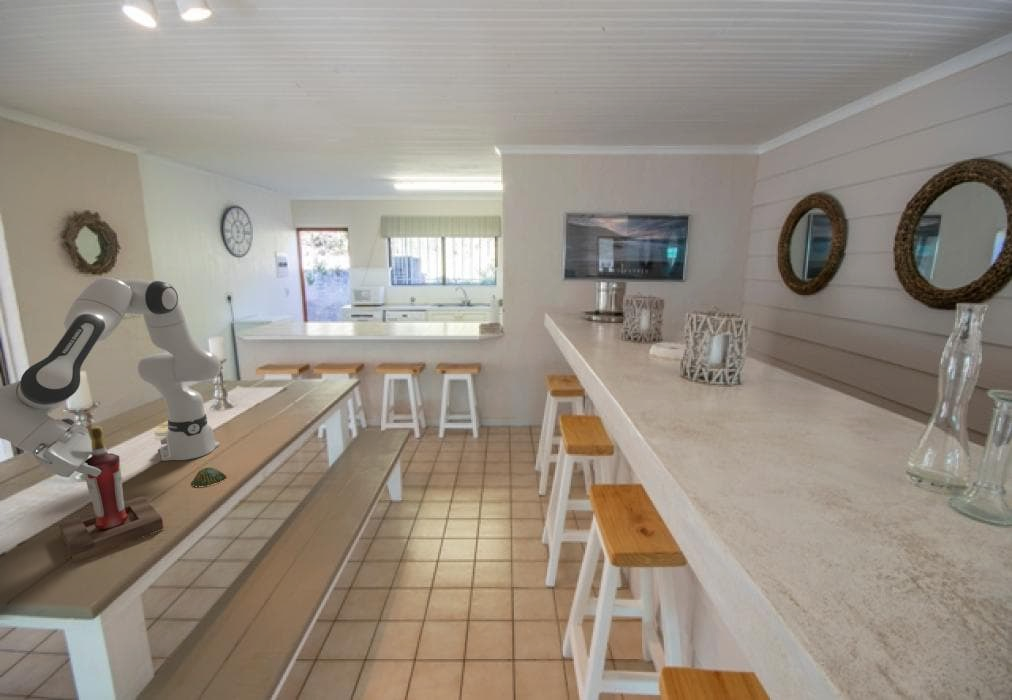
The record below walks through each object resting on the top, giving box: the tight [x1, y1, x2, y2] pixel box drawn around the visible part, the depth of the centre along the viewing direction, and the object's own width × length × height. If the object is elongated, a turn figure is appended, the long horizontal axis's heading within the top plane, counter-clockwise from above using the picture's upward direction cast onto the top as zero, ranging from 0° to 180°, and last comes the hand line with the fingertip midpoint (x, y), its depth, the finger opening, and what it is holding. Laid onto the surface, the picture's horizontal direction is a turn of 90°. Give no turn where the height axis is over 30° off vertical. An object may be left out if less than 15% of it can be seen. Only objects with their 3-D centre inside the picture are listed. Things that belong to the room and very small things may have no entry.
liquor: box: [83, 425, 128, 530], centre depth 118 cm, size 7×7×28 cm
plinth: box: [59, 495, 164, 564], centre depth 121 cm, size 18×18×4 cm
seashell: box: [190, 467, 227, 488], centre depth 150 cm, size 10×4×10 cm
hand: (105, 466), depth 118 cm, fingers closed on liquor, 7 cm apart
